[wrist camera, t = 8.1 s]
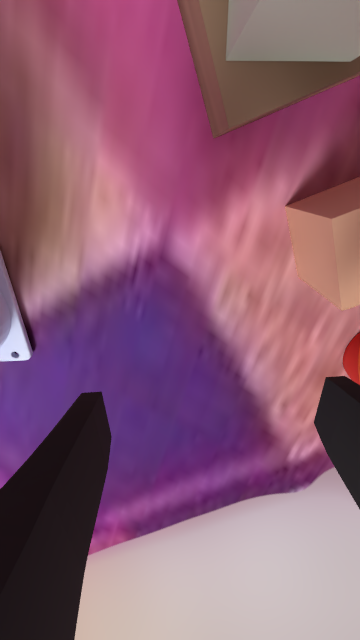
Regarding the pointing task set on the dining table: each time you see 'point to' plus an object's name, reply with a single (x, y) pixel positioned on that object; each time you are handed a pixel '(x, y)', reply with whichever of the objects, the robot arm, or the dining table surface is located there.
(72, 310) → the dining table surface
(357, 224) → the terracotta cube
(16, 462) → the dining table surface
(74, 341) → the dining table surface
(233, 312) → the dining table surface
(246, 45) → the sage cube
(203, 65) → the walnut base
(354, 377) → the paper cup
